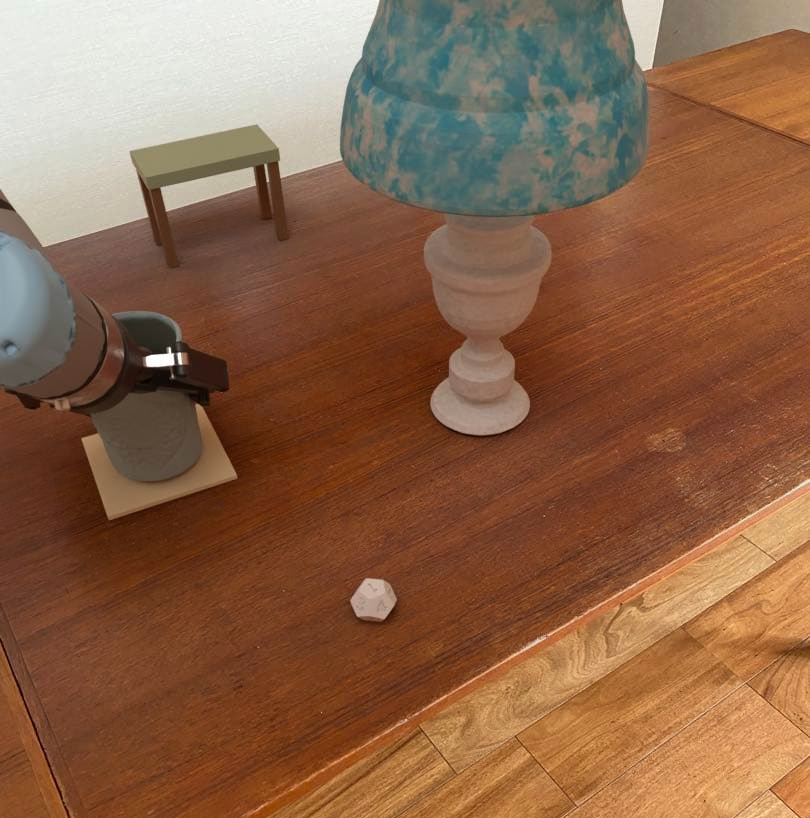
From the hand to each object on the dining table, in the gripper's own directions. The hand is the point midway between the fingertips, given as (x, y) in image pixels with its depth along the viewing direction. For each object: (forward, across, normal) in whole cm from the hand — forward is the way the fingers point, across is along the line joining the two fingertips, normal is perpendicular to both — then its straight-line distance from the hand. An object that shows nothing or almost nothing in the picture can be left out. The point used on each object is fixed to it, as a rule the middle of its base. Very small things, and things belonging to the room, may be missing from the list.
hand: (148, 396), depth 81 cm
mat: (+1, 0, -6) cm, 6 cm away
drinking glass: (+1, 0, -5) cm, 5 cm away
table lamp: (+4, +32, -4) cm, 32 cm away
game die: (-13, +19, -21) cm, 31 cm away
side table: (+31, +5, +24) cm, 39 cm away
